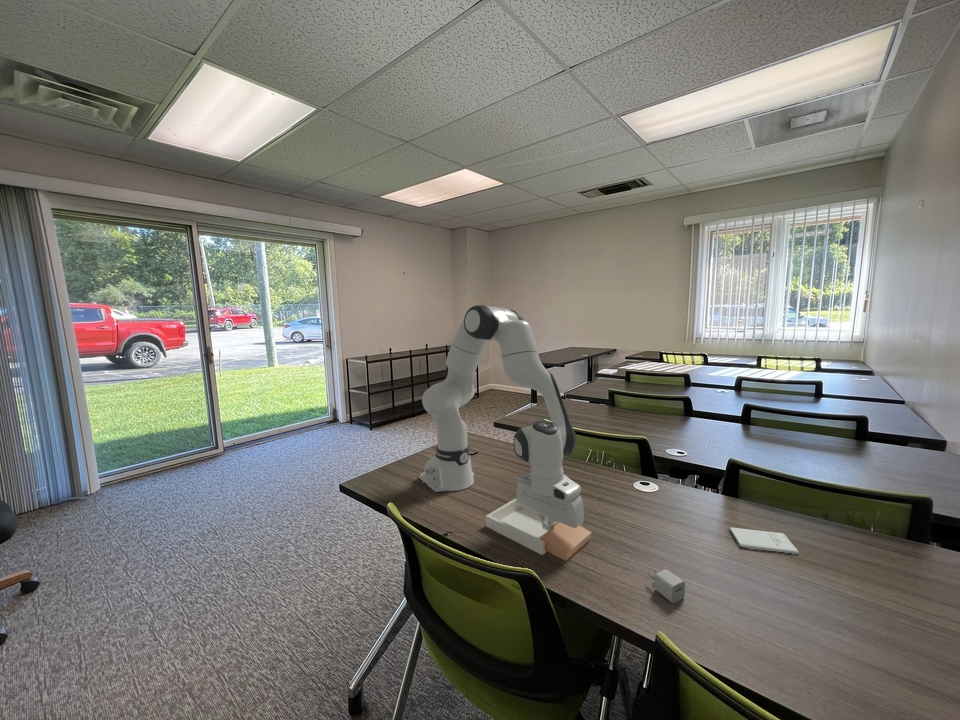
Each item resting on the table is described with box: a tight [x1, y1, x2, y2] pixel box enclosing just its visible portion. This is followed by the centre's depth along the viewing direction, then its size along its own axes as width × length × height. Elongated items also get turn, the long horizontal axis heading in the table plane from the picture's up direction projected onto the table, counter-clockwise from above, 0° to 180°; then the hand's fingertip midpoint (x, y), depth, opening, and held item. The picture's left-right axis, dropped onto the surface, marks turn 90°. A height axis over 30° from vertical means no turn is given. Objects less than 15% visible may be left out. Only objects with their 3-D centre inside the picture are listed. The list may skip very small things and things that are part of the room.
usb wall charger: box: [647, 569, 686, 604], centre depth 82 cm, size 4×7×4 cm, turn 24°
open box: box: [485, 497, 559, 556], centre depth 108 cm, size 20×16×4 cm
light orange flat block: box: [540, 522, 593, 562], centre depth 99 cm, size 8×12×3 cm, turn 135°
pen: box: [442, 531, 464, 536], centre depth 107 cm, size 1×19×1 cm, turn 84°
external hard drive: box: [728, 527, 800, 555], centre depth 98 cm, size 2×8×12 cm
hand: (548, 529), depth 103 cm, fingers closed
